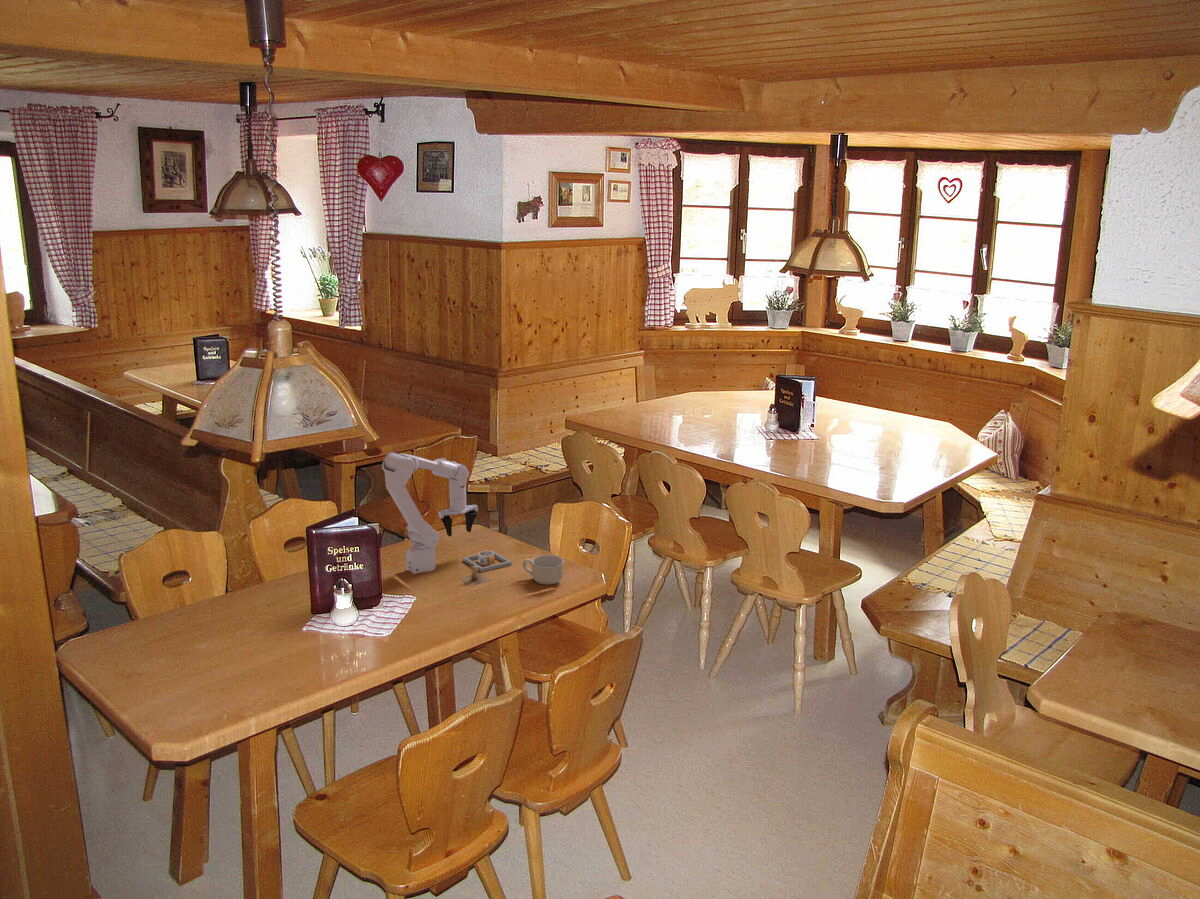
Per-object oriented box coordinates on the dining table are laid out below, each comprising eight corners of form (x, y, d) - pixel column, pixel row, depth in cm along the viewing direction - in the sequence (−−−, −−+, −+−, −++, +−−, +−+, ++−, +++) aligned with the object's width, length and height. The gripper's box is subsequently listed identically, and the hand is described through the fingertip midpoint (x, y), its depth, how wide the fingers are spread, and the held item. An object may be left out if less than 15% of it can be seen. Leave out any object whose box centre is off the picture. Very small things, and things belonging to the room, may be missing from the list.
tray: (481, 574, 337) (481, 568, 337) (463, 562, 347) (463, 557, 347) (511, 567, 344) (511, 561, 343) (493, 555, 354) (492, 550, 354)
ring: (485, 568, 341) (485, 559, 340) (475, 562, 347) (475, 552, 346) (499, 565, 344) (499, 555, 343) (489, 558, 350) (489, 549, 349)
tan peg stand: (469, 588, 325) (469, 573, 324) (458, 580, 332) (458, 565, 330) (491, 582, 330) (490, 568, 329) (479, 575, 336) (479, 560, 335)
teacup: (569, 579, 333) (569, 557, 331) (554, 591, 324) (554, 568, 322) (533, 572, 339) (532, 551, 337) (517, 583, 329) (517, 561, 327)
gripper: (444, 503, 338) (445, 540, 342) (481, 496, 347) (482, 532, 350) (435, 498, 344) (436, 535, 347) (472, 491, 352) (473, 527, 356)
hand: (459, 533), depth 349 cm, fingers open, 7 cm apart
